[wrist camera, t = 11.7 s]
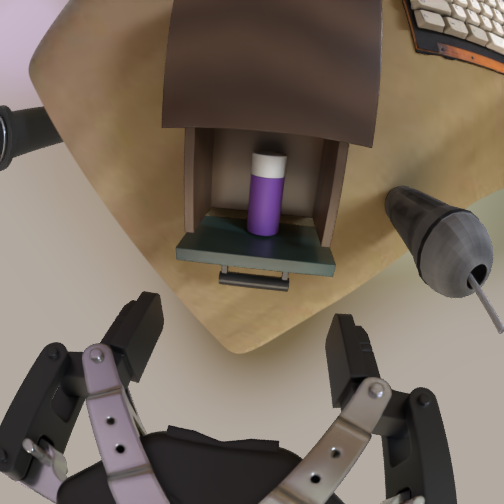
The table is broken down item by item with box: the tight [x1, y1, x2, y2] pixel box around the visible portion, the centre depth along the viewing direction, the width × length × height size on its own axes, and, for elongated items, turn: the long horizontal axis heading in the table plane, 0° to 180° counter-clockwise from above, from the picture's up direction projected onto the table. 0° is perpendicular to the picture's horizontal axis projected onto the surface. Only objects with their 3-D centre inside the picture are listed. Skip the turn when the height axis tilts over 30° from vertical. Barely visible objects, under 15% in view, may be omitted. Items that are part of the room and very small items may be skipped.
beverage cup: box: [385, 186, 504, 334], centre depth 19 cm, size 7×7×20 cm
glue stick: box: [247, 151, 287, 236], centre depth 25 cm, size 8×3×3 cm, turn 175°
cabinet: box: [162, 0, 382, 148], centre depth 17 cm, size 16×15×10 cm
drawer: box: [176, 128, 349, 292], centre depth 24 cm, size 19×14×8 cm
